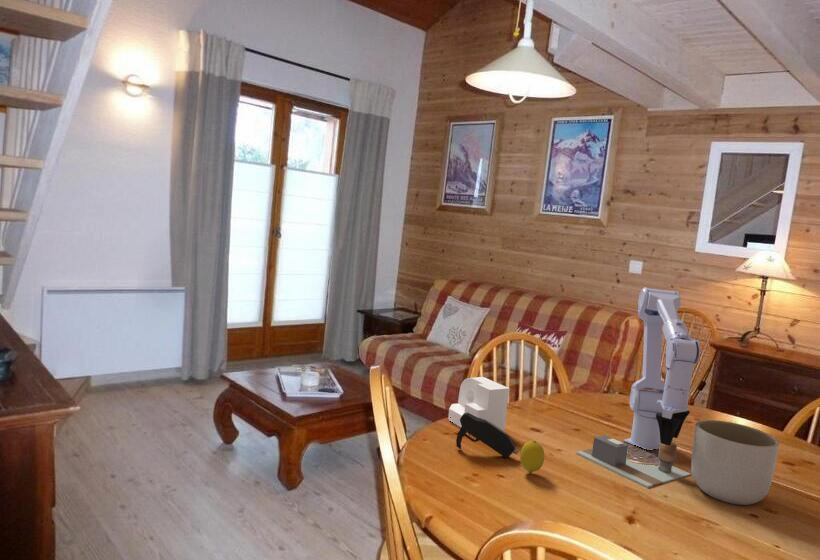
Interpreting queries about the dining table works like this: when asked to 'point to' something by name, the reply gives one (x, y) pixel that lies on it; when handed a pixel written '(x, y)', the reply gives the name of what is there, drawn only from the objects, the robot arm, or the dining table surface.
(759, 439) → the planter
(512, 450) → the gun
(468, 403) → the tape dispenser
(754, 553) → the dining table surface
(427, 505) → the dining table surface
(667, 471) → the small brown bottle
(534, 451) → the lemon
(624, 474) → the panel
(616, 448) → the block
